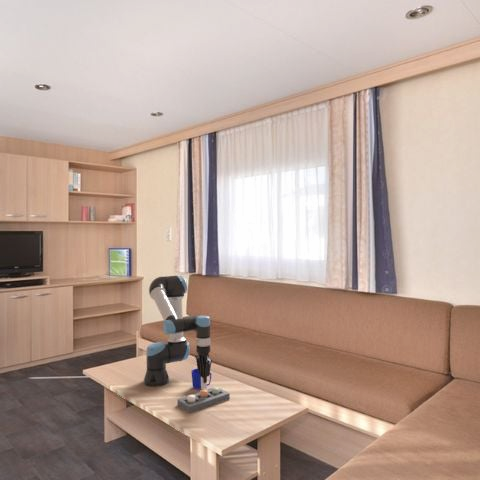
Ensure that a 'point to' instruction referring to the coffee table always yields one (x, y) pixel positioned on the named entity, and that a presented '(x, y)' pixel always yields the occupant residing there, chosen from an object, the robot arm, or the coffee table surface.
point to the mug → (197, 379)
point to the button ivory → (191, 399)
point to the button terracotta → (203, 393)
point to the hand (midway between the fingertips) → (203, 388)
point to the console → (203, 401)
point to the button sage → (215, 390)
